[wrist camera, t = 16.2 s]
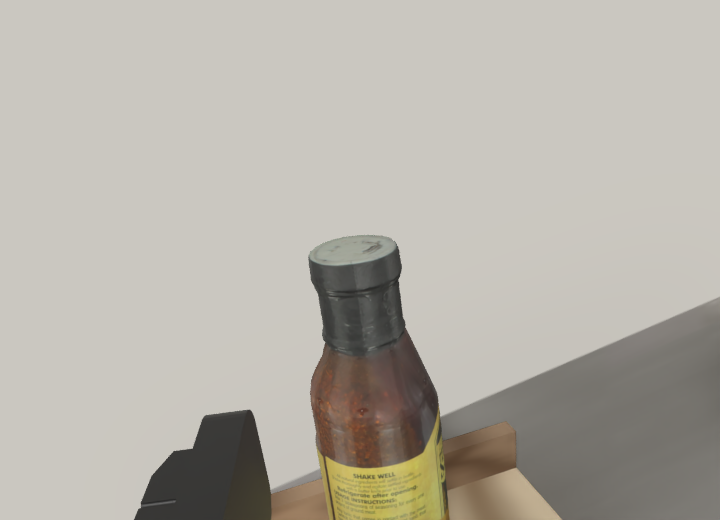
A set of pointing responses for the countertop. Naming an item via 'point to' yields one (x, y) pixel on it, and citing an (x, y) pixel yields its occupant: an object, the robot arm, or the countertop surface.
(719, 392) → the countertop surface
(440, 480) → the sauce bottle
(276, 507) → the track
